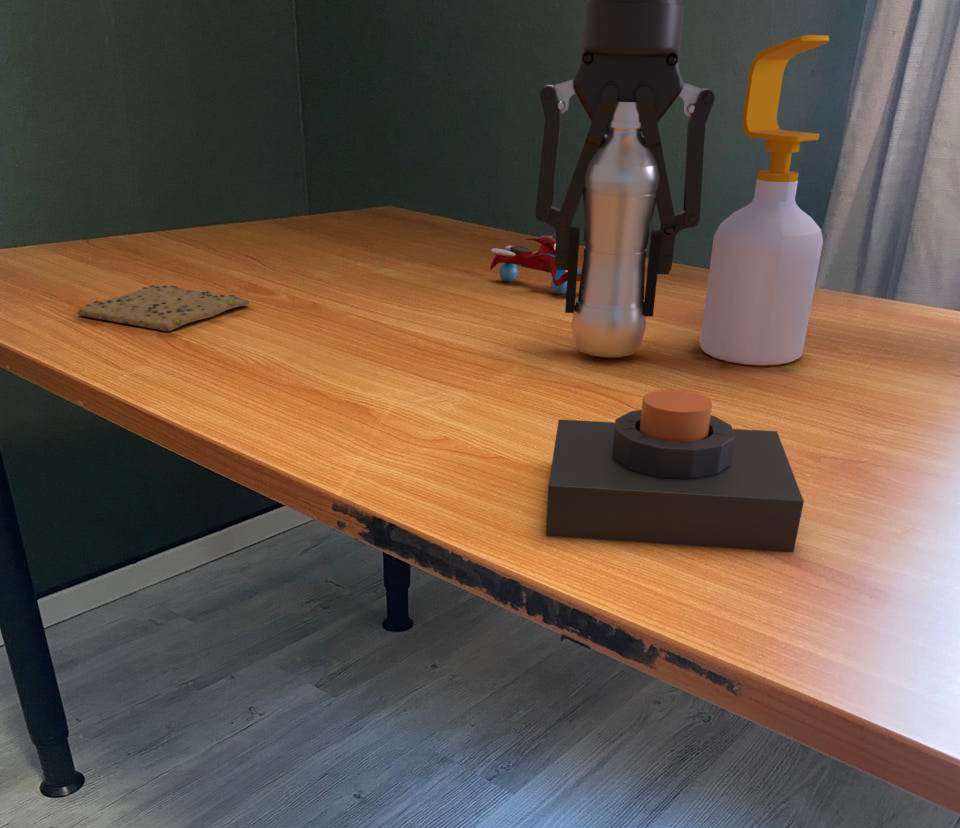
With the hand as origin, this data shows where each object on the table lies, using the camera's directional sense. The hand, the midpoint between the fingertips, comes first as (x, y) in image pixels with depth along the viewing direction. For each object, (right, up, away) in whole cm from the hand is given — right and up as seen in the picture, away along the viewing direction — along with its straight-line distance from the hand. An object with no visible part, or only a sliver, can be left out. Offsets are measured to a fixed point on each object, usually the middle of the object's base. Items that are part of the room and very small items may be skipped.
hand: (608, 310), depth 86 cm
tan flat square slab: (-43, +4, +13) cm, 45 cm away
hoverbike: (-5, +10, +24) cm, 27 cm away
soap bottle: (+13, -3, +3) cm, 14 cm away
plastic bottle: (0, -3, +2) cm, 4 cm away
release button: (0, -17, -28) cm, 32 cm away
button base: (0, -20, -25) cm, 32 cm away
